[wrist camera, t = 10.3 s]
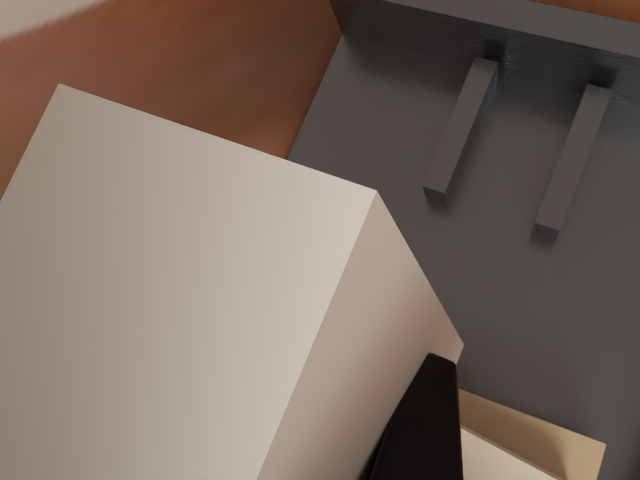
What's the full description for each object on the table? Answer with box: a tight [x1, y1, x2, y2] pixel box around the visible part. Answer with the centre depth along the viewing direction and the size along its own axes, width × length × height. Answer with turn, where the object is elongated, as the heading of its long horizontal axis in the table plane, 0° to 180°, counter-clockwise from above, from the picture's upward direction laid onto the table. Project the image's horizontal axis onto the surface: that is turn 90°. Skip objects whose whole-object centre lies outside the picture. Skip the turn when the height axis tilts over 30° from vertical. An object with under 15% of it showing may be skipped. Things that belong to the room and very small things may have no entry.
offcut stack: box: [458, 389, 606, 480], centre depth 18 cm, size 7×11×4 cm, turn 66°
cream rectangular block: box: [0, 84, 464, 480], centre depth 9 cm, size 4×2×12 cm, turn 156°
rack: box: [287, 0, 640, 480], centre depth 20 cm, size 20×16×4 cm
